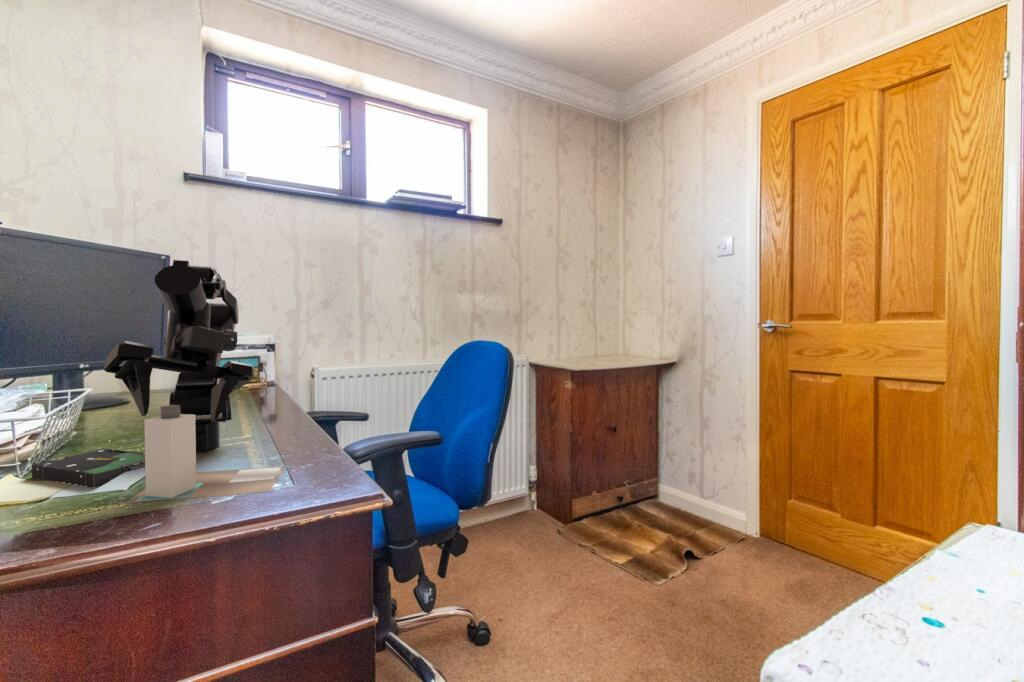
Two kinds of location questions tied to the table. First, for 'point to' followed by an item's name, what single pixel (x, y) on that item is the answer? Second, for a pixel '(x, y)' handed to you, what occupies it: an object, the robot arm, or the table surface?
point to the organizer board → (223, 484)
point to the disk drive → (89, 467)
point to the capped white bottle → (170, 453)
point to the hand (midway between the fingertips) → (181, 418)
